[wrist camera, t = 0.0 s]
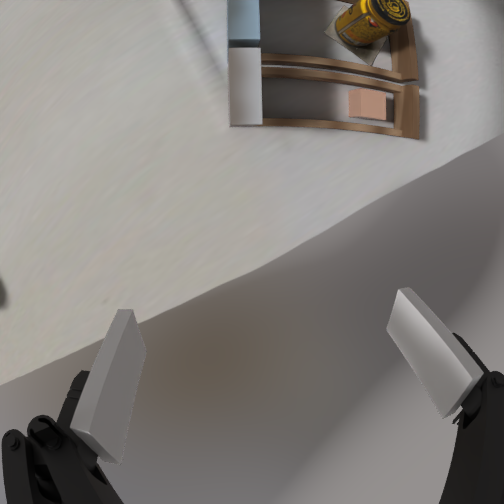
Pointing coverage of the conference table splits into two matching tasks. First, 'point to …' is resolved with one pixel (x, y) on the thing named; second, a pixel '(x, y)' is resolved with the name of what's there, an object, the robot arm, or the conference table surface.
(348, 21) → the condiment
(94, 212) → the conference table surface
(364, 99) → the clay block
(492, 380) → the robot arm
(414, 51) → the wooden shelf
